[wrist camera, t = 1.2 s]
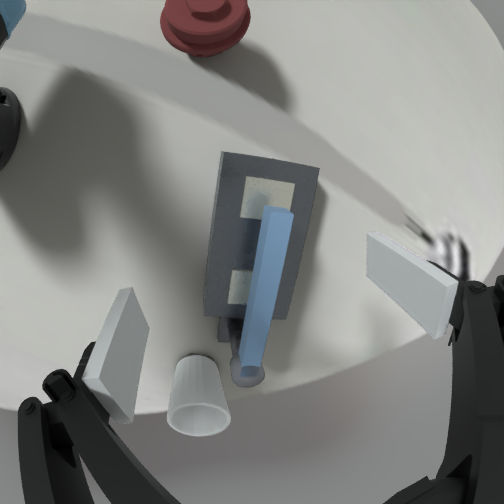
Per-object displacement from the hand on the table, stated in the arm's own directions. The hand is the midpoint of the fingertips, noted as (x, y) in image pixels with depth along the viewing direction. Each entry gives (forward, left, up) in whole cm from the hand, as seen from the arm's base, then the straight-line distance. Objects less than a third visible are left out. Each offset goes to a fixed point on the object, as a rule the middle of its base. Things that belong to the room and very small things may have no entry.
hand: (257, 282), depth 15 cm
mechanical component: (-6, +22, -26) cm, 34 cm away
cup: (-1, -31, -26) cm, 40 cm away
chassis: (+5, -5, -25) cm, 26 cm away
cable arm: (+5, -11, -16) cm, 20 cm away
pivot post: (+5, -21, -25) cm, 33 cm away
